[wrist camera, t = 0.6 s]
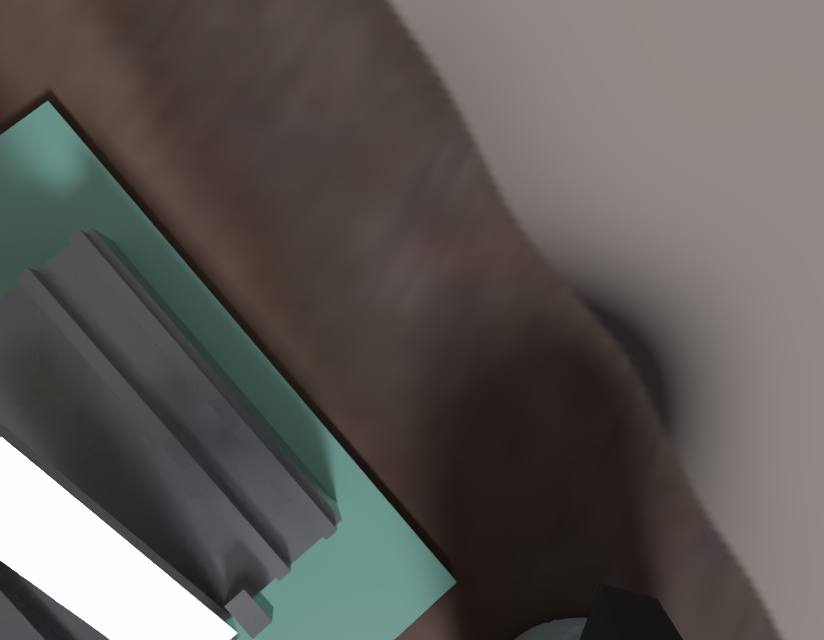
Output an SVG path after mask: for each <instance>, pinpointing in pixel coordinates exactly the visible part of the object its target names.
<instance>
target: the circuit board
mask: <svg viewBox="0 0 824 640" xmlns="http://www.w3.org/2000/svg"><path fill="white" fill-rule="evenodd" d="M91 228H93V229H94V230H96V231H98V232H100V233H101V234H103V235H105V236H106V237H108V238H110V239H111V240H113V241H114V242H115V243H116V244H117V246H118V247H119V248H120V249H121V250H122V252H123V253H124V254H125V255H126V256H127V257H128V259H129V260H130V261H131V262H132V263H133V264H134V266H135V267H136V268H137V269H138V270H139V271H140V273H141V274H142V275H143V276H144V277H145V278H146V280H147V281H148V282H149V283H150V284H151V285H152V287H153V288H154V289H155V290H156V291H157V292H158V294H159V295H160V296H161V297H162V298H163V299H164V301H165V302H166V303H167V304H168V305H169V306H170V308H171V309H172V310H173V311H174V312H175V313H176V315H177V316H178V317H179V318H180V319H181V321H182V322H183V323H184V324H185V325H186V326H187V328H188V329H189V330H190V331H191V332H192V333H193V335H194V336H195V337H196V338H197V339H198V340H199V342H200V343H201V344H202V345H203V346H204V347H205V349H206V350H207V351H208V352H209V353H210V354H211V356H212V357H213V358H214V359H215V360H216V361H217V363H218V364H219V365H220V366H221V367H222V368H223V370H224V371H225V372H226V373H227V374H228V375H229V377H230V378H231V379H232V380H233V381H234V383H235V384H236V385H237V386H238V387H239V388H240V390H241V391H242V392H243V393H244V394H245V395H246V397H247V398H248V399H249V400H250V401H251V402H252V404H253V405H254V406H255V407H256V408H257V409H258V411H259V412H260V413H261V414H262V415H263V416H264V418H265V419H266V420H267V421H268V422H269V423H270V425H271V426H272V427H273V428H274V429H275V430H276V432H277V433H278V434H279V435H280V436H281V437H282V439H283V440H284V441H285V442H286V443H287V444H288V446H289V447H290V448H291V449H292V450H293V452H294V453H295V454H296V455H297V456H298V457H299V459H300V460H301V461H302V462H303V463H304V464H305V466H306V467H307V468H308V469H309V470H310V471H311V473H312V474H313V475H314V476H315V477H316V478H317V480H318V481H319V482H320V483H321V484H322V485H323V487H324V488H325V489H326V490H327V491H328V492H329V494H330V495H331V496H332V497H333V498H334V499H335V501H336V502H337V504H338V508H339V511H340V515H341V519H342V520H341V521H340V522H339V523H338V524H337V525H336V526H337V531H336V532H335V533H334V534H333V535H332V536H330V537H329V538H328V539H327V540H325V539H324V538H323V537H322V538H321V539H320V540H318V541H317V542H316V543H315V544H314V545H313V546H312V547H310V548H309V549H308V550H307V551H306V552H305V553H304V554H303V555H301V556H300V557H299V558H298V559H297V560H296V561H295V562H293V563H292V564H291V572H290V573H288V574H287V575H286V576H285V577H284V578H283V579H282V580H281V581H278V580H277V579H276V578H275V579H274V580H273V581H272V582H271V583H270V584H268V585H267V586H266V587H265V588H264V589H263V590H262V591H260V592H261V593H262V594H263V596H264V597H265V598H266V599H267V600H268V601H269V602H270V604H271V605H272V606H273V607H274V608H273V619H272V622H271V623H270V624H269V625H268V626H267V627H266V628H265V629H264V630H262V631H261V632H260V633H259V634H258V635H257V636H256V637H255V638H253V639H252V638H251V637H250V636H249V634H248V633H247V632H246V631H245V630H244V629H243V628H242V626H241V625H240V624H239V623H238V622H237V621H236V620H235V618H234V617H233V616H232V617H233V619H234V623H235V626H236V629H237V631H238V633H239V635H240V638H239V639H237V640H394V639H395V638H397V637H398V636H399V635H400V634H401V633H402V632H403V631H404V630H405V629H406V628H407V627H408V626H410V625H411V624H412V623H413V622H414V621H415V620H416V619H417V618H418V617H419V616H420V615H422V614H423V613H424V612H425V611H426V610H427V609H428V608H429V607H430V606H431V605H432V604H433V603H435V602H436V601H437V600H438V599H439V598H440V597H441V596H442V595H443V594H444V593H445V592H447V591H448V590H449V589H450V588H451V587H452V586H453V585H454V584H455V583H456V581H455V579H454V578H453V576H452V575H451V574H450V573H449V572H448V571H447V569H446V568H445V567H444V566H443V565H442V564H441V562H440V561H439V560H438V559H437V558H436V556H435V555H434V554H433V553H432V552H431V551H430V549H429V548H428V547H427V546H426V545H425V543H424V542H423V541H422V540H421V539H420V538H419V536H418V535H417V534H416V533H415V532H414V531H413V529H412V528H411V527H410V526H409V525H408V523H407V522H406V521H405V520H404V519H403V518H402V516H401V515H400V514H399V513H398V512H397V510H396V509H395V508H394V507H393V506H392V505H391V503H390V502H389V501H388V500H387V499H386V498H385V496H384V495H383V494H382V493H381V492H380V490H379V489H378V488H377V487H376V486H375V485H374V483H373V482H372V481H371V480H370V479H369V478H368V476H367V475H366V474H365V473H364V472H363V470H362V469H361V468H360V467H359V466H358V465H357V463H356V462H355V461H354V460H353V459H352V457H351V456H350V455H349V454H348V453H347V452H346V450H345V449H344V448H343V447H342V446H341V445H340V443H339V442H338V441H337V440H336V439H335V437H334V436H333V435H332V434H331V433H330V432H329V430H328V429H327V428H326V427H325V426H324V424H323V423H322V422H321V421H320V420H319V419H318V417H317V416H316V415H315V414H314V413H313V412H312V410H311V409H310V408H309V407H308V406H307V404H306V403H305V402H304V401H303V400H302V399H301V397H300V396H299V395H298V394H297V393H296V392H295V390H294V389H293V388H292V387H291V386H290V384H289V383H288V382H287V381H286V380H285V379H284V377H283V376H282V375H281V374H280V373H279V371H278V370H277V369H276V368H275V367H274V366H273V364H272V363H271V362H270V361H269V360H268V359H267V357H266V356H265V355H264V354H263V353H262V351H261V350H260V349H259V348H258V347H257V346H256V344H255V343H254V342H253V341H252V340H251V338H250V337H249V336H248V335H247V334H246V333H245V331H244V330H243V329H242V328H241V327H240V326H239V324H238V323H237V322H236V321H235V320H234V318H233V317H232V316H231V315H230V314H229V313H228V311H227V310H226V309H225V308H224V307H223V305H222V304H221V303H220V302H219V301H218V300H217V298H216V297H215V296H214V295H213V294H212V293H211V291H210V290H209V289H208V288H207V287H206V285H205V284H204V283H203V282H202V281H201V280H200V278H199V277H198V276H197V275H196V274H195V273H194V271H193V270H192V269H191V268H190V267H189V265H188V264H187V263H186V262H185V261H184V260H183V258H182V257H181V256H180V255H179V254H178V252H177V251H176V250H175V249H174V248H173V247H172V245H171V244H170V243H169V242H168V241H167V240H166V238H165V237H164V236H163V235H162V234H161V232H160V231H159V230H158V229H157V228H156V227H155V225H154V224H153V223H152V222H151V221H150V219H149V218H148V217H147V216H146V215H145V214H144V212H143V211H142V210H141V209H140V208H139V207H138V205H137V204H136V203H135V202H134V201H133V199H132V198H131V197H130V196H129V195H128V194H127V192H126V191H125V190H124V189H123V188H122V186H121V185H120V184H119V183H118V182H117V181H116V179H115V178H114V177H113V176H112V175H111V174H110V172H109V171H108V170H107V169H106V168H105V166H104V165H103V164H102V163H101V162H100V161H99V159H98V158H97V157H96V156H95V155H94V154H93V152H92V151H91V150H90V149H89V148H88V146H87V145H86V144H85V143H84V142H83V141H82V139H81V138H80V137H79V136H78V135H77V133H76V132H75V131H74V130H73V129H72V128H71V126H70V125H69V124H68V123H67V122H66V121H65V119H64V118H63V117H62V116H61V115H60V113H59V112H58V111H57V110H56V109H55V108H54V106H53V105H52V104H51V103H50V102H49V101H47V102H45V103H44V104H43V105H41V106H40V107H38V108H37V109H36V110H34V111H33V112H32V113H30V114H29V115H27V116H26V117H25V118H23V119H22V120H20V121H19V122H18V123H16V124H15V125H14V126H12V127H11V128H9V129H8V130H7V131H5V132H4V133H3V134H1V135H0V297H2V296H3V295H4V294H6V293H7V292H8V291H10V290H11V289H12V288H14V287H15V286H16V285H17V284H19V282H18V281H17V280H16V279H15V277H16V276H17V275H19V274H20V273H21V272H23V271H24V270H25V269H27V268H30V269H34V270H37V269H38V268H40V267H41V266H42V265H44V264H45V263H46V262H48V261H49V260H50V259H52V258H53V257H54V256H56V255H57V254H58V253H60V252H61V251H62V250H63V249H65V248H66V247H67V246H69V245H70V244H71V243H70V242H69V241H68V240H67V239H66V238H67V237H69V236H70V235H71V234H73V233H74V232H75V231H77V230H78V229H80V230H82V231H84V232H87V231H88V230H90V229H91Z"/></svg>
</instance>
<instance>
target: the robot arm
mask: <svg viewBox="0 0 824 640" xmlns="http://www.w3.org/2000/svg"><path fill="white" fill-rule="evenodd" d="M580 640H683V639H682V637H681V636H680V634H679V633H678V631H677V629H676V628H675V626H674V625H673V623H672V621H671V620H670V618H669V617H668V615H667V614H666V612H665V610H664V609H663V607H662V606H661V604H660V603H659V601H658V600H657V599H655V598H652V597H648V596H644V595H640V594H636V593H633V592H629V591H625V590H621V589H617V588H614V587H610V586H606V585H602V584H600V585H599V588H598V590H597V593H596V596H595V599H594V601H593V604H592V607H591V610H590V612H589V615H588V618H587V621H586V623H585V626H584V629H583V632H582V634H581V637H580Z"/></svg>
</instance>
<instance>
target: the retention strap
mask: <svg viewBox="0 0 824 640" xmlns="http://www.w3.org/2000/svg"><path fill="white" fill-rule="evenodd" d="M0 560H1V561H3V562H4V563H5V564H7V565H8V566H10V567H11V568H12V569H14V570H15V571H16V572H18V573H19V574H21V575H22V576H23V577H25V578H26V579H28V580H29V581H30V582H32V583H33V584H34V585H36V586H37V587H39V588H40V589H41V590H43V591H44V592H45V593H47V594H48V595H50V596H51V597H52V598H54V599H55V600H56V601H58V602H59V603H61V604H62V605H63V606H65V607H66V608H68V609H69V610H70V611H72V612H73V613H74V614H76V615H77V616H79V617H80V618H81V619H83V620H84V621H85V622H87V623H88V624H90V625H91V626H92V627H94V628H95V629H96V630H98V631H99V632H101V633H102V634H103V635H105V636H106V637H108V638H109V639H110V640H237V639H239V638H240V635H239V633H238V631H237V629H236V626H235V623H234V619H233V617H232V616H231V615H229V614H228V613H227V612H226V611H225V610H223V609H222V608H221V607H220V606H219V605H218V604H216V603H215V602H214V601H213V600H212V599H210V598H209V597H208V596H207V595H206V594H204V593H203V592H202V591H201V590H200V589H198V588H197V587H196V586H195V585H194V584H192V583H191V582H190V581H189V580H188V579H186V578H185V577H184V576H183V575H182V574H180V573H179V572H178V571H177V570H176V569H175V568H173V567H172V566H171V565H170V564H169V563H167V562H166V561H165V560H164V559H163V558H161V557H160V556H159V555H158V554H157V553H155V552H154V551H153V550H152V549H151V548H149V547H148V546H147V545H146V544H145V543H143V542H142V541H141V540H140V539H139V538H137V537H136V536H135V535H134V534H133V533H132V532H130V531H129V530H128V529H127V528H126V527H124V526H123V525H122V524H121V523H120V522H118V521H117V520H116V519H115V518H114V517H112V516H111V515H110V514H109V513H108V512H106V511H105V510H104V509H103V508H102V507H100V506H99V505H98V504H97V503H96V502H94V501H93V500H92V499H91V498H90V497H89V496H87V495H86V494H85V493H84V492H83V491H81V490H80V489H79V488H78V487H77V486H75V485H74V484H73V483H72V482H71V481H69V480H68V479H67V478H66V477H65V476H63V475H62V474H61V473H60V472H59V471H57V470H56V469H55V468H54V467H53V466H52V465H50V464H49V463H48V462H47V461H46V460H44V459H43V458H42V457H41V456H40V455H38V454H37V453H36V452H35V451H34V450H32V449H31V448H30V447H29V446H28V445H26V444H25V443H24V442H23V441H22V440H20V439H19V438H18V437H17V436H16V435H14V434H13V433H12V432H11V431H10V430H9V429H7V428H6V427H5V426H4V425H3V424H1V423H0Z"/></svg>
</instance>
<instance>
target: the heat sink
mask: <svg viewBox="0 0 824 640" xmlns="http://www.w3.org/2000/svg"><path fill="white" fill-rule="evenodd" d="M66 239H67V240H68V241H69V242H70V243H71V244H70V245H69V246H67V247H66V248H65V249H63V250H62V251H61V252H60V253H58V254H57V255H56V256H54V257H53V258H52V259H50V260H49V261H48V262H46V263H45V264H44V265H42V266H41V267H40V268H38V269H37V270H34V269H30V268H27V269H25V270H24V271H23V272H21V273H20V274H19V275H17V276H16V277H15V279H16V280H17V281H18V282H19V284H17V285H16V286H15V287H14V288H12V289H11V290H10V291H8V292H7V293H6V294H4V295H3V296H2V297H0V423H1V424H3V425H4V426H5V427H6V428H7V429H9V430H10V431H11V432H12V433H13V434H14V435H16V436H17V437H18V438H19V439H20V440H22V441H23V442H24V443H25V444H26V445H28V446H29V447H30V448H31V449H32V450H34V451H35V452H36V453H37V454H38V455H40V456H41V457H42V458H43V459H44V460H46V461H47V462H48V463H49V464H50V465H52V466H53V467H54V468H55V469H56V470H57V471H59V472H60V473H61V474H62V475H63V476H65V477H66V478H67V479H68V480H69V481H71V482H72V483H73V484H74V485H75V486H77V487H78V488H79V489H80V490H81V491H83V492H84V493H85V494H86V495H87V496H89V497H90V498H91V499H92V500H93V501H94V502H96V503H97V504H98V505H99V506H100V507H102V508H103V509H104V510H105V511H106V512H108V513H109V514H110V515H111V516H112V517H114V518H115V519H116V520H117V521H118V522H120V523H121V524H122V525H123V526H124V527H126V528H127V529H128V530H129V531H130V532H132V533H133V534H134V535H135V536H136V537H137V538H139V539H140V540H141V541H142V542H143V543H145V544H146V545H147V546H148V547H149V548H151V549H152V550H153V551H154V552H155V553H157V554H158V555H159V556H160V557H161V558H163V559H164V560H165V561H166V562H167V563H169V564H170V565H171V566H172V567H173V568H175V569H176V570H177V571H178V572H179V573H180V574H182V575H183V576H184V577H185V578H186V579H188V580H189V581H190V582H191V583H192V584H194V585H195V586H196V587H197V588H198V589H200V590H201V591H202V592H203V593H204V594H206V595H207V596H208V597H209V598H210V599H212V600H213V601H214V602H215V603H216V604H218V605H219V606H220V607H221V608H222V609H223V610H225V611H226V612H227V613H228V614H229V615H231V616H233V617H234V618H235V620H236V621H237V622H238V623H239V624H240V625H241V626H242V628H243V629H244V630H245V631H246V632H247V633H248V634H249V636H250V637H251V638H252V639H253V638H255V637H256V636H257V635H258V634H259V633H260V632H261V631H262V630H264V629H265V628H266V627H267V626H268V625H269V624H270V623H271V622H272V619H273V608H274V607H273V606H272V605H271V604H270V602H269V601H268V600H267V599H266V598H265V597H264V596H263V594H262V593H261V592H260V591H262V590H263V589H264V588H265V587H266V586H267V585H268V584H270V583H271V582H272V581H273V580H274V579H275V578H276V579H277V580H278V581H281V580H282V579H283V578H284V577H285V576H286V575H287V574H288V573H290V572H291V564H292V563H293V562H295V561H296V560H297V559H298V558H299V557H300V556H301V555H303V554H304V553H305V552H306V551H307V550H308V549H309V548H310V547H312V546H313V545H314V544H315V543H316V542H317V541H318V540H320V539H321V538H322V537H323V538H324V539H325V540H327V539H328V538H329V537H330V536H332V535H333V534H334V533H335V532H336V531H337V526H336V525H337V524H338V523H339V522H340V521H341V520H342V519H341V515H340V511H339V508H338V504H337V502H336V501H335V499H334V498H333V497H332V496H331V495H330V494H329V492H328V491H327V490H326V489H325V488H324V487H323V485H322V484H321V483H320V482H319V481H318V480H317V478H316V477H315V476H314V475H313V474H312V473H311V471H310V470H309V469H308V468H307V467H306V466H305V464H304V463H303V462H302V461H301V460H300V459H299V457H298V456H297V455H296V454H295V453H294V452H293V450H292V449H291V448H290V447H289V446H288V444H287V443H286V442H285V441H284V440H283V439H282V437H281V436H280V435H279V434H278V433H277V432H276V430H275V429H274V428H273V427H272V426H271V425H270V423H269V422H268V421H267V420H266V419H265V418H264V416H263V415H262V414H261V413H260V412H259V411H258V409H257V408H256V407H255V406H254V405H253V404H252V402H251V401H250V400H249V399H248V398H247V397H246V395H245V394H244V393H243V392H242V391H241V390H240V388H239V387H238V386H237V385H236V384H235V383H234V381H233V380H232V379H231V378H230V377H229V375H228V374H227V373H226V372H225V371H224V370H223V368H222V367H221V366H220V365H219V364H218V363H217V361H216V360H215V359H214V358H213V357H212V356H211V354H210V353H209V352H208V351H207V350H206V349H205V347H204V346H203V345H202V344H201V343H200V342H199V340H198V339H197V338H196V337H195V336H194V335H193V333H192V332H191V331H190V330H189V329H188V328H187V326H186V325H185V324H184V323H183V322H182V321H181V319H180V318H179V317H178V316H177V315H176V313H175V312H174V311H173V310H172V309H171V308H170V306H169V305H168V304H167V303H166V302H165V301H164V299H163V298H162V297H161V296H160V295H159V294H158V292H157V291H156V290H155V289H154V288H153V287H152V285H151V284H150V283H149V282H148V281H147V280H146V278H145V277H144V276H143V275H142V274H141V273H140V271H139V270H138V269H137V268H136V267H135V266H134V264H133V263H132V262H131V261H130V260H129V259H128V257H127V256H126V255H125V254H124V253H123V252H122V250H121V249H120V248H119V247H118V246H117V244H116V243H115V242H114V241H113V240H111V239H110V238H108V237H106V236H105V235H103V234H101V233H100V232H98V231H96V230H94V229H93V228H91V229H90V230H88V231H87V232H84V231H82V230H80V229H78V230H77V231H75V232H74V233H73V234H71V235H70V236H69V237H67V238H66ZM0 640H110V639H109V638H108V637H106V636H105V635H103V634H102V633H101V632H99V631H98V630H96V629H95V628H94V627H92V626H91V625H90V624H88V623H87V622H85V621H84V620H83V619H81V618H80V617H79V616H77V615H76V614H74V613H73V612H72V611H70V610H69V609H68V608H66V607H65V606H63V605H62V604H61V603H59V602H58V601H56V600H55V599H54V598H52V597H51V596H50V595H48V594H47V593H45V592H44V591H43V590H41V589H40V588H39V587H37V586H36V585H34V584H33V583H32V582H30V581H29V580H28V579H26V578H25V577H23V576H22V575H21V574H19V573H18V572H16V571H15V570H14V569H12V568H11V567H10V566H8V565H7V564H5V563H4V562H3V561H1V560H0Z"/></svg>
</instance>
